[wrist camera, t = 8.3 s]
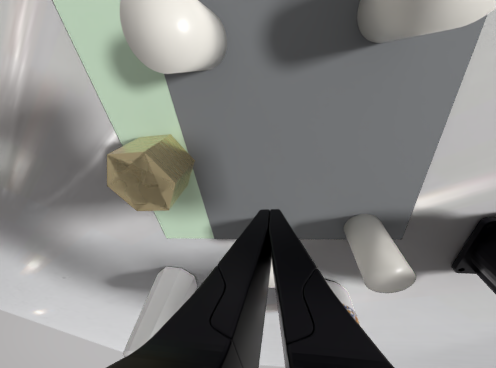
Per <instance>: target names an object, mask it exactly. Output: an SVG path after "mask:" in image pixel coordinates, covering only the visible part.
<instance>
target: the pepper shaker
mask: <svg viewBox="0 0 496 368" xmlns="http://www.w3.org/2000/svg"><path fill="white" fill-rule="evenodd" d="M196 288H197V283H196V280H195V277H194V275H192V274H190V273H189V272H187V271H186V270H184V269H182V268H176V267H165V268H164V269H163V270H162V271H160V272H159V273H158V275H157V277H156V279H155V281H154V284H153V286H152V288H151V290H150V293H149V295H148V297H147V299H146V302H145V304H144V306H143V308H142V311H141V313H140V315H139V318H138V320H137V322H136V324H135V327H134V329H133V331H132V333H131V336H130V338H129V340H128V342H127V345H126V347H125V350H124V352H123V355H124V357H126V356H128V355H130V354H131V353H133V352H134V351H136V350H137V349H139V348H140V347H141V346H142V345H144V344H145V343H146V342H147V341H148V340H149V339H151V338H152V337H153V336H154V335H155V334H156V333H157V332H158V331H159V330H160V329H161V327H162V326H163V325H164V324H165V323H166V322H167V321H168V320H169V319H170V318H171V317H172V316H173V315H174V314H175V313H176V312H177V311H178V310H179V309H180V307H181V306H182V305H183V304H184V303H185V302H186V301H187V300H188V299H189V298H190V297H191V296H192V295H193V294H194V292H195V290H196Z"/></svg>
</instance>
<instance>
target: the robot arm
mask: <svg viewBox="0 0 496 368" xmlns="http://www.w3.org/2000/svg"><path fill="white" fill-rule="evenodd" d="M271 259H272V267H273V275H274V282H275V290H276V298H277V306H278V313H279V321H280V329H281V337H282V344H283V352H284V360H285V368H394V367H393V366H392V364H391V363H390V362H389V361H388V360H387V359H386V357H385V356H384V355H383V354H382V353H381V351H380V350H379V349H378V348H377V346H376V345H375V344H374V343H373V341H372V340H371V339H370V338H369V337H368V335H367V334H366V333H365V332H364V330H363V329H362V328H361V327H360V325H359V324H358V323H357V322H356V320H355V319H354V318H353V317H352V315H351V314H350V313H349V312H348V310H347V309H346V308H345V307H344V305H343V304H342V303H341V301H340V300H339V299H338V298H337V296H336V295H335V294H334V292H333V291H332V289H331V288H330V286H329V285H328V283H327V282H326V281H325V279H324V278H323V276H322V274H321V273H320V271H319V270H318V269H317V267H316V265H315V264H314V262H313V260H312V259H311V257H310V256H309V254H308V253H307V251H306V250H305V248H304V246H303V245H302V243H301V242H300V240H299V239H298V237H297V235H296V234H295V232H294V231H293V229H292V228H291V226H290V224H289V223H288V221H287V220H286V218H285V217H284V215H283V213H282V212H281V210H280V209H271V210H269V209H261V210H260V211H259V212H258V213H257V214H256V216H255V217H254V218H253V220H252V221H251V222H250V223H249V225H248V226H247V227H246V229H245V230H244V231H243V232H242V234H241V235H240V236H239V238H238V239H237V240H236V241H235V243H234V244H233V245H232V247H231V248H230V249H229V251H228V252H227V253H226V254H225V256H224V257H223V258H222V260H221V261H220V262H219V263H218V266H216V267H215V268H214V270H213V271H212V272H211V274H210V275H209V276H208V277H207V278H206V280H205V281H204V282H203V283H202V285H201V286H200V287H199V288H198V289H197V290H196V291H195V292H194V294H193V295H192V296H191V297H190V298H189V299H188V300H187V301H186V302H185V303H184V304H183V305H182V306H181V307H180V309H179V310H178V311H177V312H176V313H175V314H174V315H173V316H172V317H171V318H170V319H169V320H168V321H167V322H166V323H165V324H164V325H163V326H162V327H161V329H160V330H159V331H158V332H157V333H156V334H155V335H154V336H153V337H152V338H151V339H149V340H148V341H147V342H146V343H145V344H144V345H142V346H141V347H140V348H139V349H137V350H136V351H134V352H133V353H131V354H130V355H128V356H126V357H125V358H123V359H121V360H119V361H117V362H115V363H114V364H112V365H110V366H108V367H107V368H258V367H259V359H260V351H261V343H262V335H263V327H264V319H265V310H266V302H267V294H268V286H269V278H270V270H271ZM452 268H453V270H454V271H455V272H456V273H471V274H477V275H478V276H479V277H480V278H481V279H482V280H483V281H484V282H485V283H486V284H487V285H488V287H489V288H490V289H491V290H492V291H493V292H494V293H495V294H496V217H489V218H485V219H483V220H481V221H480V222H479V224H478V225H477V227H476V228H475V230H474V232H473V233H472V235H471V236H470V238H469V240H468V241H467V243H466V244H465V246H464V248H463V249H462V251H461V252H460V254H459V256H458V257H457V259H456V260H455V262H454V264H453V265H452Z"/></svg>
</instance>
